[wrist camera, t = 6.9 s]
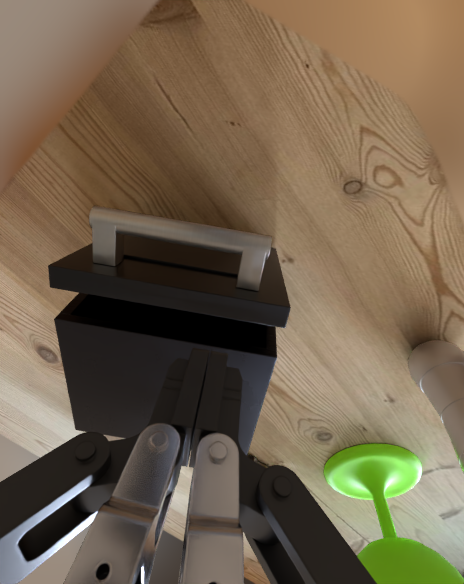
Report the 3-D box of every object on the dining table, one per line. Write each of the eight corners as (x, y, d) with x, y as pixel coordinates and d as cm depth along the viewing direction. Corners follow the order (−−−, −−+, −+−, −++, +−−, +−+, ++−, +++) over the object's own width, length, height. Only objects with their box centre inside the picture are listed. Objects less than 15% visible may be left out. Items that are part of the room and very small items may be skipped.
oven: (130, 239, 35) (53, 318, 22) (272, 263, 35) (277, 357, 22) (133, 329, 42) (75, 430, 29) (251, 349, 42) (245, 459, 29)
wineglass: (316, 490, 58) (334, 629, 43) (333, 438, 50) (364, 588, 34) (404, 500, 57) (455, 645, 42) (437, 448, 49) (516, 607, 34)
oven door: (131, 186, 32) (43, 205, 19) (283, 213, 32) (305, 251, 19) (129, 237, 34) (49, 287, 21) (273, 262, 34) (285, 328, 21)
